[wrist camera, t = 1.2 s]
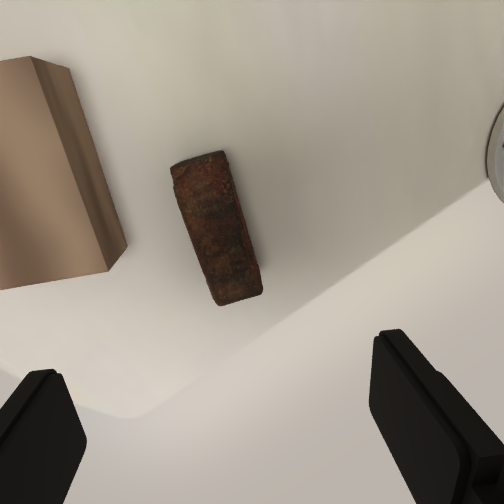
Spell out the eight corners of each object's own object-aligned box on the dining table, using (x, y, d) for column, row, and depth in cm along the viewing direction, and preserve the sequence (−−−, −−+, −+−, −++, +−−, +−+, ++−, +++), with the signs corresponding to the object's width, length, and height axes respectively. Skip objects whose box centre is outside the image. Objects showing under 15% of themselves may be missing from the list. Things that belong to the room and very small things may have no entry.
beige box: (71, 69, 22) (29, 56, 17) (128, 245, 27) (108, 271, 22) (-76, 93, 22) (-156, 86, 17) (9, 265, 27) (-36, 296, 22)
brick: (260, 269, 28) (266, 295, 24) (216, 281, 29) (215, 310, 24) (224, 147, 24) (224, 152, 20) (174, 162, 25) (163, 170, 20)
